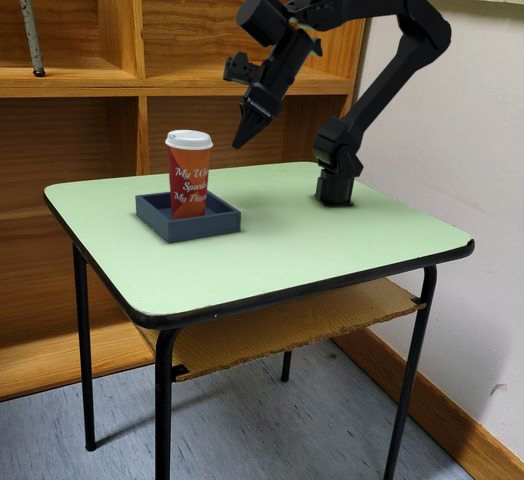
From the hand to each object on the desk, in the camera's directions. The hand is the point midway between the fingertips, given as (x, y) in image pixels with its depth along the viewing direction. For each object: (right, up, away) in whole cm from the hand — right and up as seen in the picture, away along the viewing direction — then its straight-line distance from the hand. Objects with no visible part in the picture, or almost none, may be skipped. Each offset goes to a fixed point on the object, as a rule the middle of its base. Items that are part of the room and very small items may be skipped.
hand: (234, 147), depth 95 cm
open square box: (-8, -13, 0) cm, 16 cm away
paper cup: (-8, -13, -1) cm, 15 cm away
